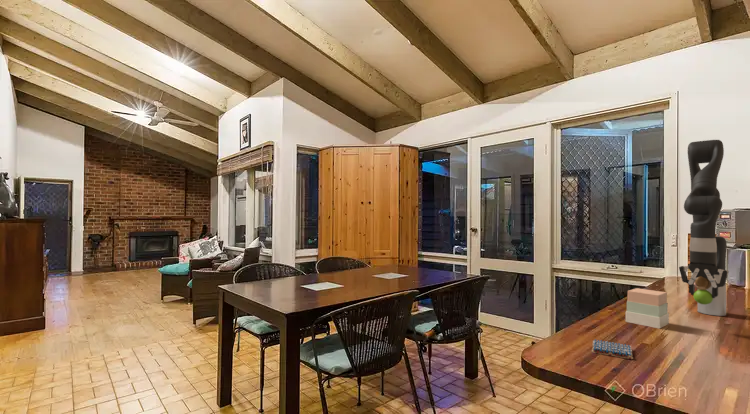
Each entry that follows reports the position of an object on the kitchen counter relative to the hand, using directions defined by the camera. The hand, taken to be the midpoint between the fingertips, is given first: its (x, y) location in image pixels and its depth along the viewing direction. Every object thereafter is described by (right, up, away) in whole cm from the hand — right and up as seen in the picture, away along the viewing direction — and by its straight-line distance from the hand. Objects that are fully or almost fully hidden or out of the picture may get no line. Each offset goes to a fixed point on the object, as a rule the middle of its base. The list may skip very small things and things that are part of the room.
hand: (703, 296), depth 139 cm
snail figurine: (0, -3, 0) cm, 3 cm away
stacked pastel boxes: (-15, -12, +8) cm, 21 cm away
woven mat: (-49, -12, -24) cm, 56 cm away
